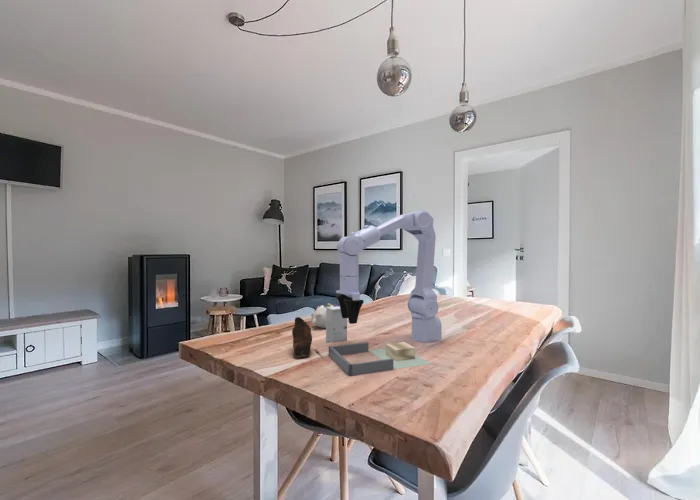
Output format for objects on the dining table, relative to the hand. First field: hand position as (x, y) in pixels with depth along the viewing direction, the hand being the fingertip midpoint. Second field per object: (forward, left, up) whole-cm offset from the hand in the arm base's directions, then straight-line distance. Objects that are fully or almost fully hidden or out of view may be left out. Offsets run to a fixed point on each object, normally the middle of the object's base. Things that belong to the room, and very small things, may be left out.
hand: (349, 320), depth 101 cm
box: (+2, +12, -10) cm, 16 cm away
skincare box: (0, -11, -10) cm, 15 cm away
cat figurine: (-3, -35, -10) cm, 36 cm away
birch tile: (-11, +12, -8) cm, 18 cm away
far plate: (-10, +12, -10) cm, 19 cm away
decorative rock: (+13, -6, -10) cm, 18 cm away
